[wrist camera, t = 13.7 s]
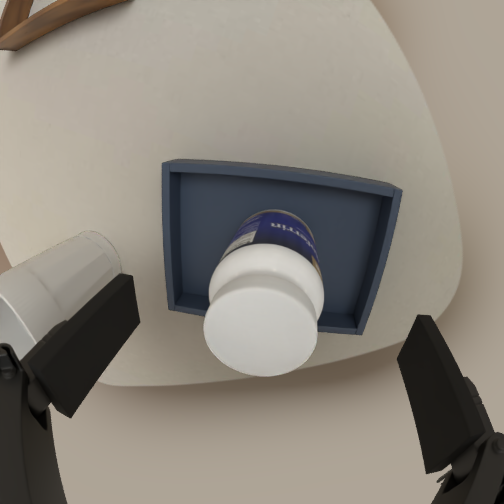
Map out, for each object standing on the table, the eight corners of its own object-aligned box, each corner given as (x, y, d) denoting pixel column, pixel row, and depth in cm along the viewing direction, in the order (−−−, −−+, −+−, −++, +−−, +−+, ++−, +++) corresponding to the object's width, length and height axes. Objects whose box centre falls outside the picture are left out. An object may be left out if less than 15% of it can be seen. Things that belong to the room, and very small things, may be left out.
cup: (57, 255, 24) (-22, 314, 13) (87, 204, 21) (-19, 261, 10) (105, 310, 26) (39, 388, 15) (144, 270, 23) (60, 362, 12)
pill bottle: (331, 248, 19) (359, 342, 10) (274, 295, 21) (259, 399, 12) (274, 189, 18) (256, 245, 9) (218, 244, 20) (164, 331, 11)
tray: (389, 183, 17) (403, 190, 15) (356, 315, 22) (362, 335, 19) (176, 158, 19) (161, 162, 16) (179, 293, 23) (168, 310, 21)
